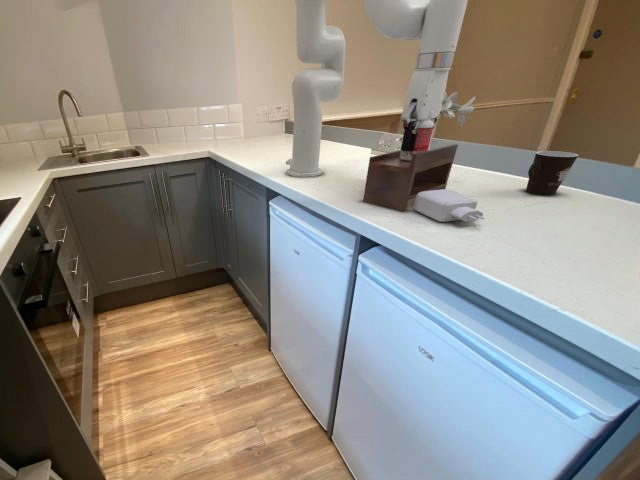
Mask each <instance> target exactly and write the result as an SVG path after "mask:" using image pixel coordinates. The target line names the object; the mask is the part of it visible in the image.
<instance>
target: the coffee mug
mask: <svg viewBox="0 0 640 480" xmlns="http://www.w3.org/2000/svg"><path fill="white" fill-rule="evenodd" d="M561 155H564V156H561ZM568 156H569V157H568ZM578 157H579V154H578V153H574V152H569V151H558V150H542V151H541V150H540V151H536V152H535V155H534V159H533V162H532V164H531V165H530V167H529V168H528V172H527V175H528V176H527V177H528V181H527V184H526V189H525V192H526V193H527V194H530V195H535V196H540V197H541V196H543V197H551V196H555V195H556V194H557V191H558V189H559V188H560V186H561V185H562V184H563V181H564V180H565V179H566V177H567V175H568V173H569V172H570V170H571V169H572V167H573V166H574V163H575V162H576V160H577V159H578Z"/></svg>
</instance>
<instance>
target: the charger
mask: <svg viewBox="0 0 640 480" xmlns="http://www.w3.org/2000/svg"><path fill="white" fill-rule="evenodd" d="M477 205H478V199H477V198H474V197H472V196H468V195H465V194H462V193H459V192H456V191H453V190H450V189H448V188H445V189H441V190H432V191H423V192H420V193H418V194H417V195H416V198H414V204H413V210H414V211H416V212H418V213H420V214H423V215H424V216H427V217H429V218H431V219H432V220H435V221H437V222H439V223H445V222H455V221H462V222H465V223H470V222H475V221H477V220H478V219H481V220H484V219H485V217H484V213H483V212H481V211H480V210H477V209H476V208H477Z"/></svg>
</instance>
